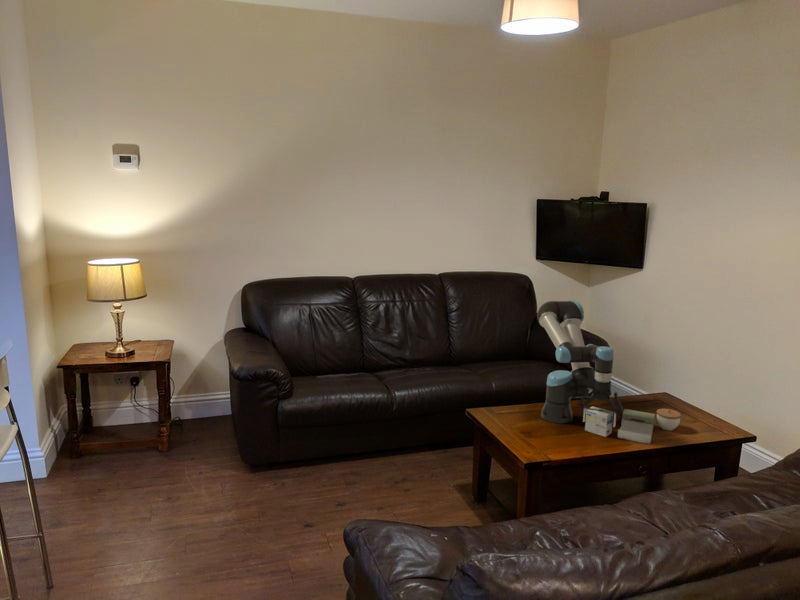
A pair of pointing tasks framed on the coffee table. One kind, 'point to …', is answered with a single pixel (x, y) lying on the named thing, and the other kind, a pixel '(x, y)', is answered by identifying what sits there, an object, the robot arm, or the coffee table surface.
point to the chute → (635, 431)
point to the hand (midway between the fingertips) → (599, 423)
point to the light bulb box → (599, 421)
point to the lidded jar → (668, 418)
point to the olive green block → (638, 416)
